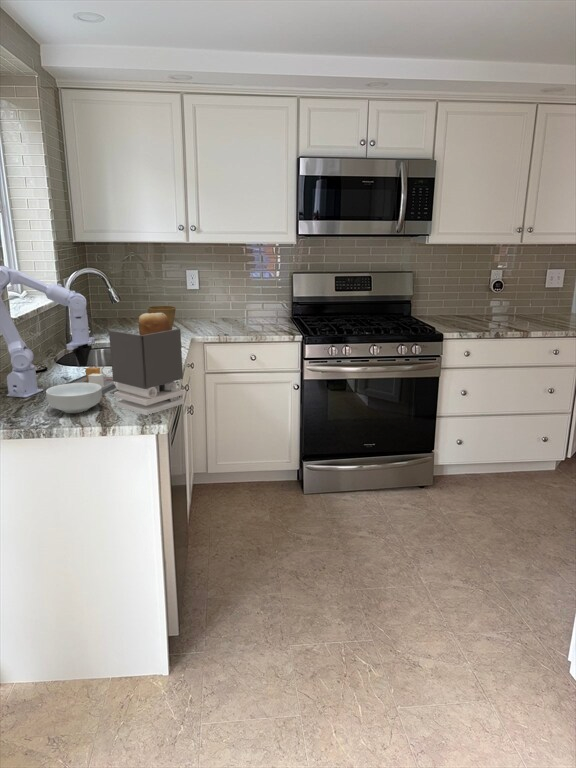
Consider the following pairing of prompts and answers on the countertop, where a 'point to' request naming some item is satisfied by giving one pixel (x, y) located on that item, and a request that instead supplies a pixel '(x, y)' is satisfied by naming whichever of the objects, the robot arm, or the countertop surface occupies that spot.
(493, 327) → the countertop surface
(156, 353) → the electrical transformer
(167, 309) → the plant pot
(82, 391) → the cereal bowl
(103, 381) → the breaker panel
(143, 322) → the bread loaf
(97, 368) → the orange block
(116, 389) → the cords
